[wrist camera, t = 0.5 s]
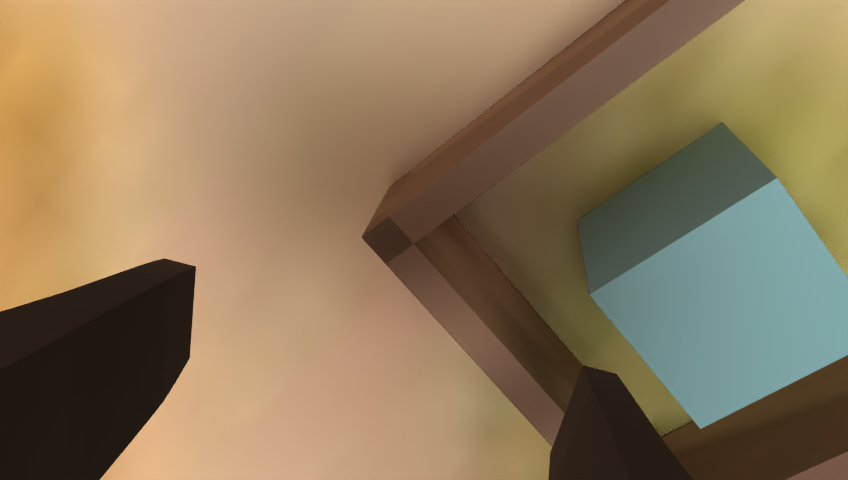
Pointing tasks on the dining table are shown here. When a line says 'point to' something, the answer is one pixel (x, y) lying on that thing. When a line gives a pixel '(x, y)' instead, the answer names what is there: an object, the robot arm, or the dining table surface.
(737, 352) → the teal block
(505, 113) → the walnut crate
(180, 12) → the dining table surface
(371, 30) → the dining table surface
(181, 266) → the robot arm
